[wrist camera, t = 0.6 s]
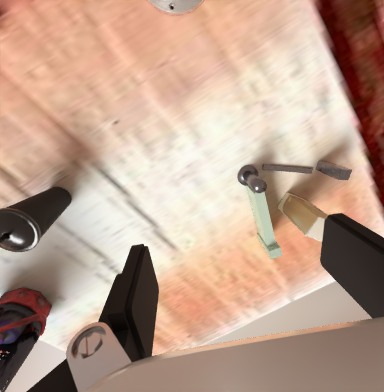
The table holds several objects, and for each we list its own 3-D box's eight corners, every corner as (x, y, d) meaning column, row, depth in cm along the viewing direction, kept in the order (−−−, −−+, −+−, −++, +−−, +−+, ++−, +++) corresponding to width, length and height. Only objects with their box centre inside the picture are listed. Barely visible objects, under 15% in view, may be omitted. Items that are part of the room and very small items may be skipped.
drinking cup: (60, 173, 42) (-31, 222, 24) (85, 203, 45) (21, 267, 26) (32, 191, 43) (-78, 251, 25) (58, 218, 46) (-23, 291, 27)
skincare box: (308, 200, 48) (348, 227, 37) (297, 215, 50) (333, 246, 38) (285, 191, 47) (319, 216, 36) (275, 207, 48) (305, 236, 37)
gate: (244, 184, 45) (255, 196, 39) (255, 180, 45) (268, 192, 38) (259, 240, 51) (270, 258, 45) (268, 237, 51) (282, 255, 44)
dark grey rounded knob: (239, 164, 44) (251, 174, 37) (259, 166, 44) (274, 176, 37) (235, 184, 45) (246, 197, 39) (255, 185, 46) (268, 198, 39)
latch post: (265, 156, 43) (280, 163, 37) (327, 161, 45) (352, 170, 38) (262, 168, 44) (276, 178, 38) (322, 173, 46) (346, 184, 39)
